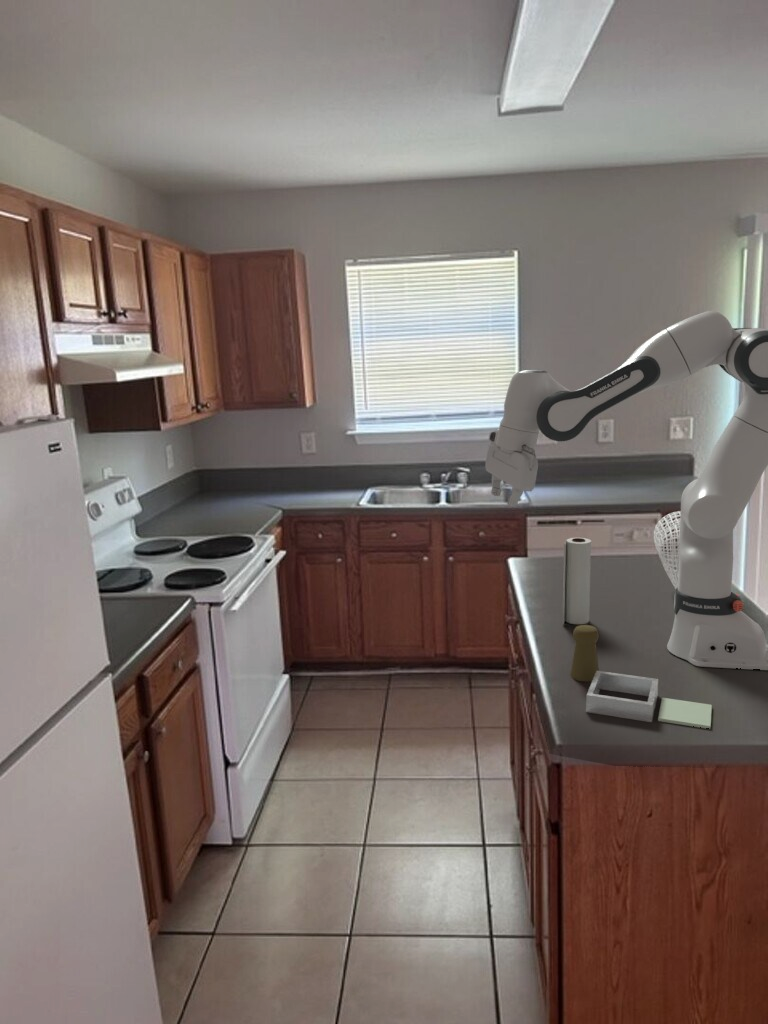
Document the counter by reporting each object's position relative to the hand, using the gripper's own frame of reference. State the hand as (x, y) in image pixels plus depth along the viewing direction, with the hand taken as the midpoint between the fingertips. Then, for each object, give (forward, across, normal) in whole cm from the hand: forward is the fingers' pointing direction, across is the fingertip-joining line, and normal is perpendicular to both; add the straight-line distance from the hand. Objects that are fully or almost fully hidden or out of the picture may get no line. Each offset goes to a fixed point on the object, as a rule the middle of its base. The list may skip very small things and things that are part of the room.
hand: (503, 500), depth 175 cm
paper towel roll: (+30, +5, -29) cm, 42 cm away
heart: (+23, +13, -66) cm, 71 cm away
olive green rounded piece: (+31, -25, -16) cm, 42 cm away
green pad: (+27, -46, -24) cm, 59 cm away
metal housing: (+29, -39, -16) cm, 51 cm away
